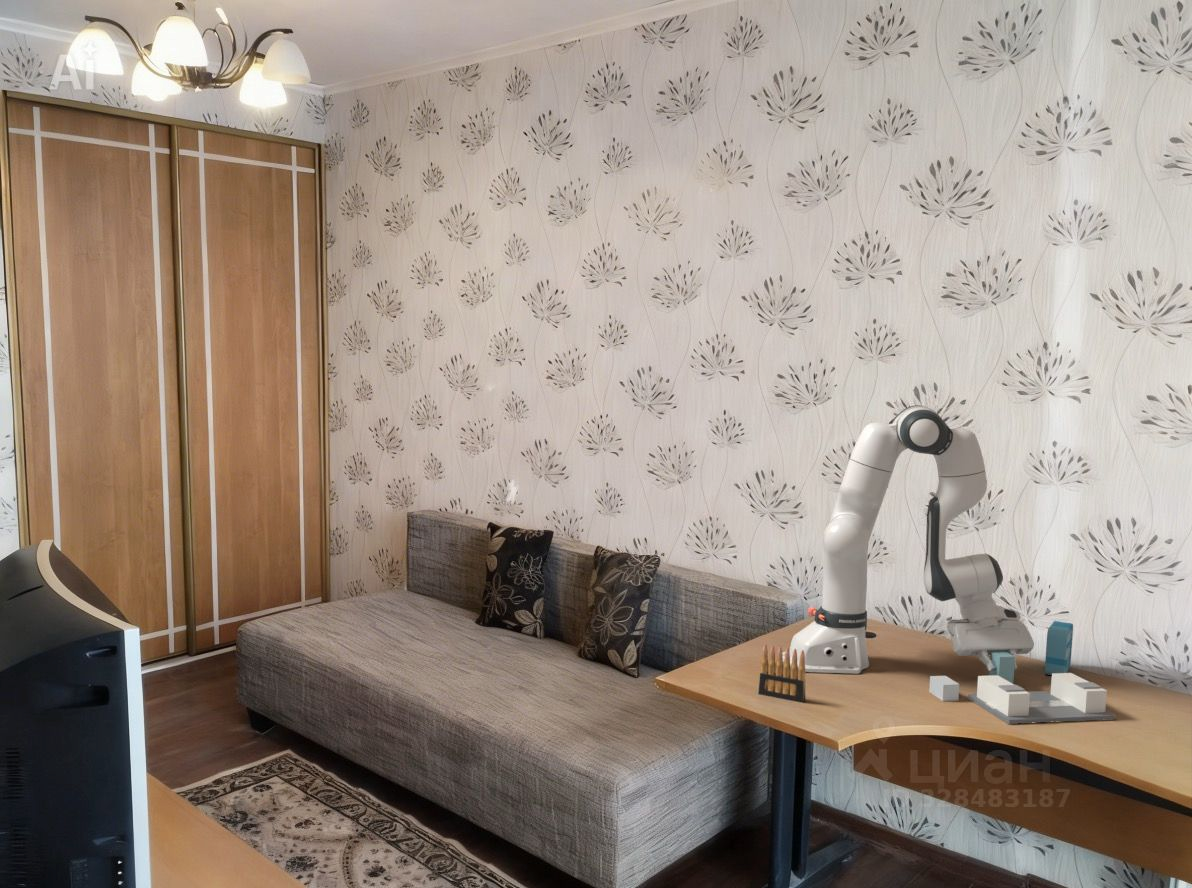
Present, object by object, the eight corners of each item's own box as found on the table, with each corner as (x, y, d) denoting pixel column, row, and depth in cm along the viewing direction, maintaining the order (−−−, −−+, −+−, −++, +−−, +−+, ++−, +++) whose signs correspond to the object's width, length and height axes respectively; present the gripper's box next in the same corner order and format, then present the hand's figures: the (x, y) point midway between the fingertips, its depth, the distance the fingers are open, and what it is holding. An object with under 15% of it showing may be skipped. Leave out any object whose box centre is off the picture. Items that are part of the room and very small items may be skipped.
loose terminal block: (942, 701, 215) (943, 684, 215) (929, 692, 221) (930, 676, 221) (958, 700, 216) (959, 684, 216) (944, 691, 222) (945, 675, 221)
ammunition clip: (805, 700, 213) (807, 649, 212) (803, 702, 212) (805, 651, 211) (760, 691, 218) (762, 642, 217) (758, 694, 217) (760, 644, 216)
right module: (1085, 713, 207) (1086, 689, 206) (1050, 694, 219) (1052, 671, 218) (1105, 712, 208) (1106, 688, 207) (1069, 693, 219) (1071, 671, 219)
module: (997, 689, 224) (999, 657, 223) (988, 683, 228) (990, 651, 227) (1012, 688, 225) (1015, 656, 224) (1003, 683, 229) (1005, 651, 228)
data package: (1063, 679, 233) (1067, 632, 232) (1044, 675, 235) (1047, 629, 234) (1070, 667, 243) (1073, 622, 242) (1051, 663, 245) (1054, 619, 244)
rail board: (1008, 724, 202) (1009, 719, 202) (967, 698, 217) (968, 693, 217) (1115, 719, 206) (1115, 714, 206) (1067, 694, 222) (1067, 689, 222)
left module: (1007, 716, 204) (1009, 692, 203) (976, 696, 215) (978, 674, 215) (1028, 715, 205) (1030, 691, 204) (996, 696, 216) (997, 673, 216)
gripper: (949, 613, 230) (969, 664, 221) (1024, 612, 234) (1047, 662, 225) (939, 626, 235) (958, 676, 226) (1012, 624, 238) (1034, 674, 229)
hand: (1003, 669), depth 225 cm, fingers closed on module, 4 cm apart
